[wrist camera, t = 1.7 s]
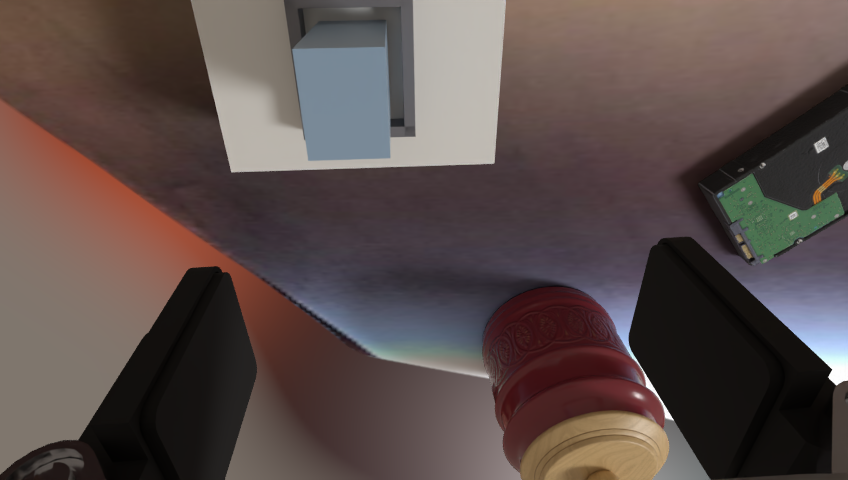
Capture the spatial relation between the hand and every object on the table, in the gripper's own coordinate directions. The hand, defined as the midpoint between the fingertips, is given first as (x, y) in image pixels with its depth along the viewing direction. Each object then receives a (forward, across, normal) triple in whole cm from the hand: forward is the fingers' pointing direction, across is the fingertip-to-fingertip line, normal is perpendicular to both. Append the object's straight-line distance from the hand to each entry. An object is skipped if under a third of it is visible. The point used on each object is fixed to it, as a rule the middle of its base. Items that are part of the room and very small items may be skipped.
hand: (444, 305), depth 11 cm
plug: (+19, +3, -2) cm, 19 cm away
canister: (+27, -13, +27) cm, 40 cm away
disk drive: (+28, -33, +10) cm, 44 cm away
